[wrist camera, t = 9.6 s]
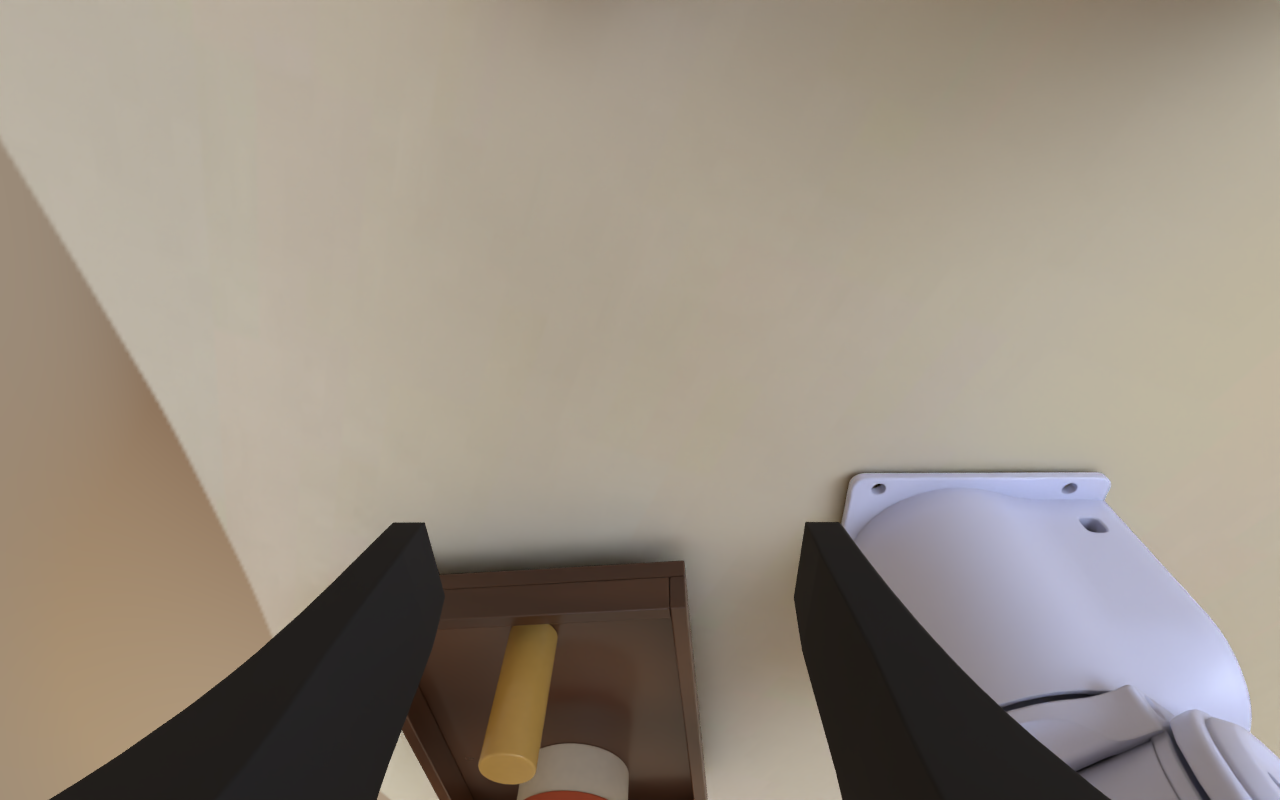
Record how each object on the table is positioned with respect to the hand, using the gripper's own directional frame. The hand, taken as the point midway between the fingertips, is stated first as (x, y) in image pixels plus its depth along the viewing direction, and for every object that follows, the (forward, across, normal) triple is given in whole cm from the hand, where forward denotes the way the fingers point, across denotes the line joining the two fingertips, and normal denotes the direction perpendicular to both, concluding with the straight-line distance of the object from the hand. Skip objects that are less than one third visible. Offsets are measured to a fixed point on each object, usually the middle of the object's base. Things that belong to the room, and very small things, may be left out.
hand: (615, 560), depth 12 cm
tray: (+9, +4, +19) cm, 21 cm away
